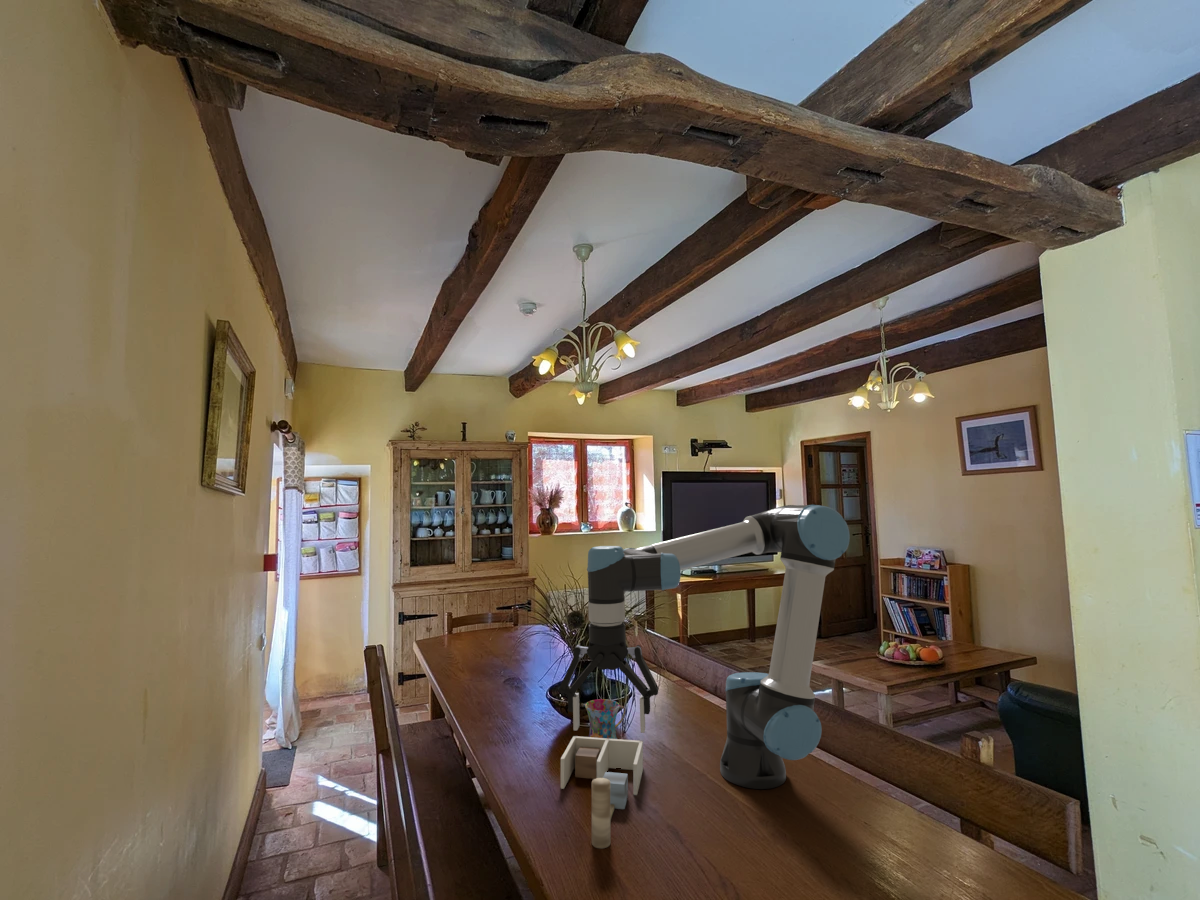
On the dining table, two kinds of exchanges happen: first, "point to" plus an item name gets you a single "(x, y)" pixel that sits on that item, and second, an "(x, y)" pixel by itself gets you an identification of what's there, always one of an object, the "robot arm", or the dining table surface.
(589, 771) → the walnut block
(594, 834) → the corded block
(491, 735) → the dining table surface
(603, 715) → the mug
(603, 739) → the lane rack
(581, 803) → the dining table surface
